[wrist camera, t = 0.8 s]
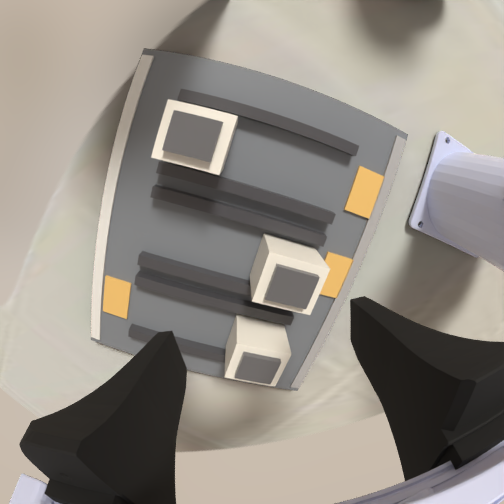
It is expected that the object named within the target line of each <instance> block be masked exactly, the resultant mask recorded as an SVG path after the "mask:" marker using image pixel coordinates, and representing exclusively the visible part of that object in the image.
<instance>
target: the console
mask: <svg viewBox="0 0 504 504" xmlns="http://www.w3.org/2000/svg"><path fill="white" fill-rule="evenodd" d="M168 99H170V100H175V101H179V102H184V103H188V104H193V105H197V106H201V107H205V108H209V109H213V110H217V111H221V112H225V113H229V114H232V115H236V116H238V124H237V127H236V130H235V133H234V136H233V139H232V142H231V146H230V149H229V152H228V155H227V159H226V162H225V165H224V168H223V171H222V172H221V173H220V175H217V174H213V173H210V172H206V171H202V170H198V169H195V168H191V167H187V166H183V165H179V164H175V163H171V162H167V161H163V160H159V159H155V158H151V156H152V152H153V148H154V144H155V141H156V137H157V134H158V130H159V127H160V123H161V120H162V117H163V114H164V110H165V107H166V104H167V101H168ZM407 136H408V134H406V133H404V132H403V131H401V130H399V129H397V128H395V127H393V126H391V125H390V124H388V123H386V122H384V121H382V120H380V119H378V118H376V117H374V116H372V115H370V114H368V113H365V112H363V111H361V110H359V109H357V108H355V107H353V106H350V105H348V104H346V103H343V102H341V101H339V100H336V99H334V98H332V97H329V96H327V95H324V94H322V93H319V92H317V91H314V90H312V89H309V88H306V87H303V86H301V85H298V84H295V83H292V82H289V81H286V80H283V79H280V78H277V77H274V76H271V75H268V74H265V73H261V72H258V71H254V70H251V69H247V68H244V67H240V66H236V65H232V64H228V63H224V62H220V61H215V60H211V59H206V58H201V57H196V56H191V55H186V54H180V53H174V52H168V51H161V50H154V49H144V50H143V53H142V55H141V58H140V60H139V63H138V66H137V68H136V71H135V74H134V77H133V80H132V83H131V86H130V89H129V92H128V95H127V98H126V101H125V104H124V108H123V111H122V115H121V118H120V122H119V125H118V129H117V133H116V137H115V141H114V145H113V149H112V153H111V157H110V162H109V166H108V171H107V176H106V181H105V186H104V192H103V197H102V203H101V210H100V216H99V223H98V230H97V238H96V247H95V257H94V268H93V282H92V301H91V340H93V341H95V342H98V343H101V344H104V345H107V346H109V347H112V348H115V349H118V350H121V351H124V352H127V353H130V354H133V355H136V354H137V353H138V352H139V351H140V350H141V349H142V348H143V347H144V346H145V345H146V344H147V343H148V342H149V341H150V340H151V339H152V338H153V337H154V336H155V335H156V334H157V333H158V332H165V331H173V334H174V337H175V339H176V342H177V344H178V347H179V350H180V352H181V355H182V357H183V360H184V362H185V365H186V367H187V370H190V371H194V372H198V373H203V374H207V375H211V376H216V377H220V378H225V377H224V376H225V353H226V344H227V341H228V338H229V335H230V332H231V329H232V326H233V323H234V320H235V317H236V314H237V313H238V314H242V315H246V316H250V317H255V318H259V319H263V320H268V321H272V322H276V323H281V324H284V326H285V330H286V334H287V338H288V342H289V346H290V350H291V356H290V358H289V360H288V362H287V364H286V366H285V368H284V370H283V372H282V374H281V376H280V378H279V380H278V382H277V384H276V386H275V388H281V389H289V390H296V391H298V389H299V387H300V386H301V384H302V382H303V381H304V379H305V377H306V375H307V374H308V372H309V370H310V368H311V366H312V365H313V363H314V361H315V359H316V357H317V355H318V354H319V352H320V350H321V348H322V346H323V344H324V342H325V340H326V338H327V336H328V335H329V333H330V331H331V329H332V327H333V325H334V323H335V321H336V319H337V317H338V315H339V313H340V310H341V308H342V306H343V304H344V302H345V300H346V298H347V296H348V294H349V291H350V289H351V287H352V285H353V283H354V280H355V278H356V276H357V274H358V271H359V269H360V267H361V265H362V262H363V260H364V258H365V255H366V253H367V250H368V248H369V246H370V243H371V241H372V238H373V236H374V233H375V231H376V228H377V225H378V223H379V220H380V218H381V215H382V212H383V210H384V207H385V204H386V201H387V199H388V196H389V193H390V190H391V187H392V184H393V182H394V179H395V176H396V173H397V169H398V166H399V163H400V160H401V157H402V154H403V150H404V147H405V144H406V140H407ZM264 233H266V234H270V235H273V236H276V237H280V238H283V239H287V240H290V241H293V242H297V243H300V244H303V245H307V246H310V247H313V248H315V249H316V250H317V251H318V253H319V254H320V255H321V257H322V258H323V260H324V261H325V262H326V264H327V265H328V266H329V268H330V271H329V273H328V276H327V278H326V280H325V283H324V285H323V287H322V290H321V292H320V294H319V296H318V299H317V301H316V303H315V305H314V308H313V310H312V312H311V314H310V315H307V314H303V313H298V312H294V311H290V310H285V309H281V308H277V307H273V306H268V305H264V304H260V303H256V302H252V296H251V286H250V273H251V270H252V267H253V264H254V261H255V258H256V255H257V252H258V249H259V246H260V243H261V240H262V237H263V234H264ZM225 379H230V378H225ZM230 380H235V379H230ZM235 381H240V380H235ZM240 382H245V381H240ZM245 383H251V382H245ZM251 384H256V383H251ZM256 385H262V384H256ZM262 386H268V385H262ZM268 387H274V386H268Z"/></svg>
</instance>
